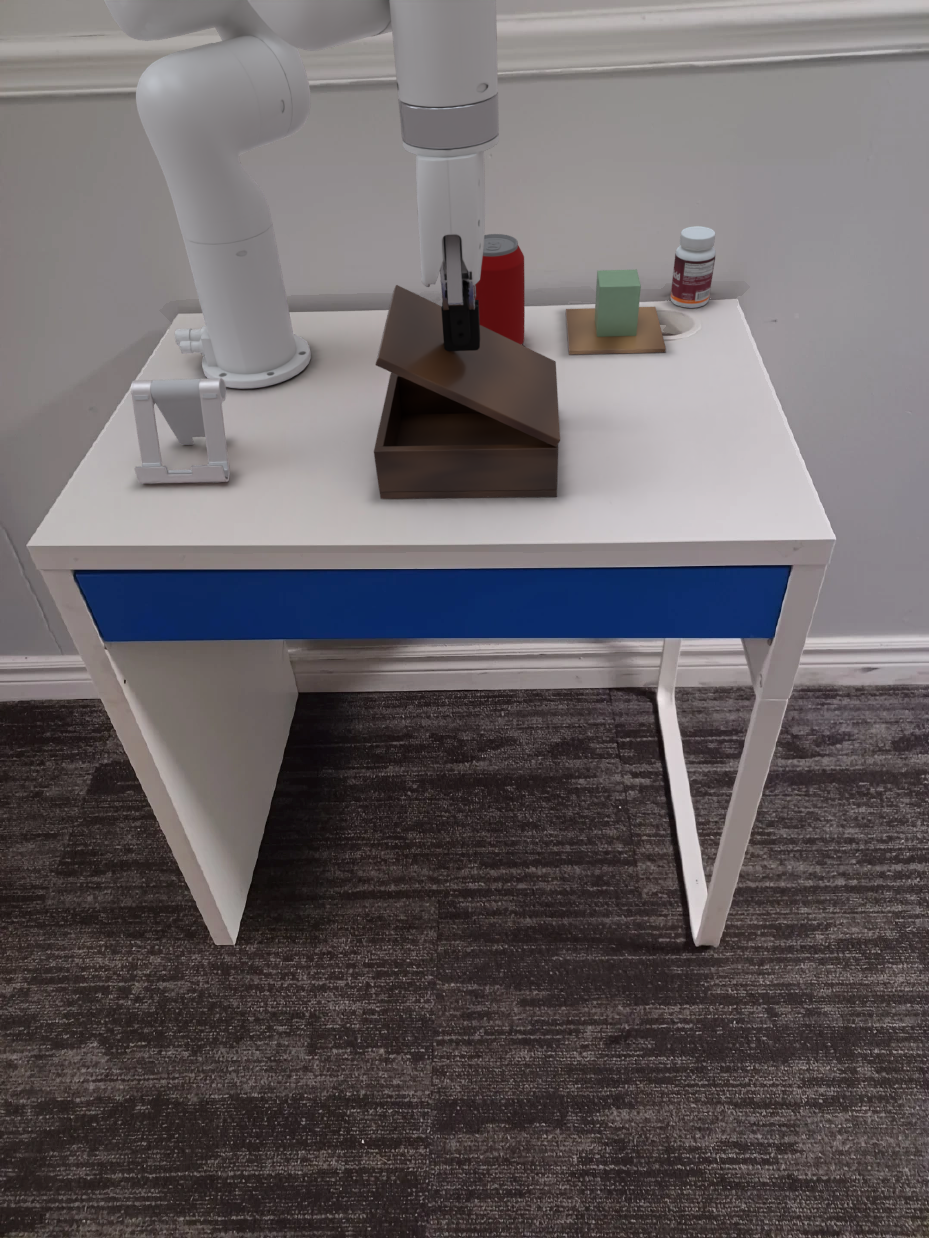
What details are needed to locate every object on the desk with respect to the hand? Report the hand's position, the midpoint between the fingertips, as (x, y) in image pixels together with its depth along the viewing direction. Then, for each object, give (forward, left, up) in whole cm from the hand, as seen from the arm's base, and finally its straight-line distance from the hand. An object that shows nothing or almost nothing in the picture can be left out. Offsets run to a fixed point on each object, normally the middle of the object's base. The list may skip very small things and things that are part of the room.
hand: (462, 346), depth 80 cm
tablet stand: (-28, -1, -12) cm, 30 cm away
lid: (+1, 0, -2) cm, 2 cm away
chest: (0, 0, -12) cm, 12 cm away
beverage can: (+2, +23, -12) cm, 26 cm away
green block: (+16, +26, -11) cm, 33 cm away
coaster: (+16, +26, -12) cm, 33 cm away
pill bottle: (+26, +34, -12) cm, 45 cm away
